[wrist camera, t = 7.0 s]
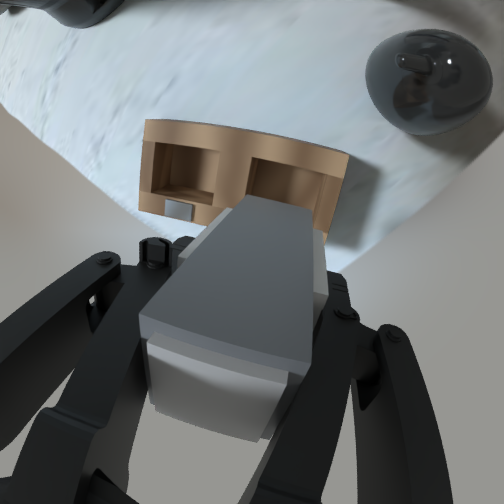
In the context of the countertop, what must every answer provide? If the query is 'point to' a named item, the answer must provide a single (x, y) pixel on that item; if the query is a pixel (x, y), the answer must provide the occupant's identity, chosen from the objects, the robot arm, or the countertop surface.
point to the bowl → (4, 8)
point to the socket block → (234, 171)
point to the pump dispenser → (428, 81)
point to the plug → (235, 323)
